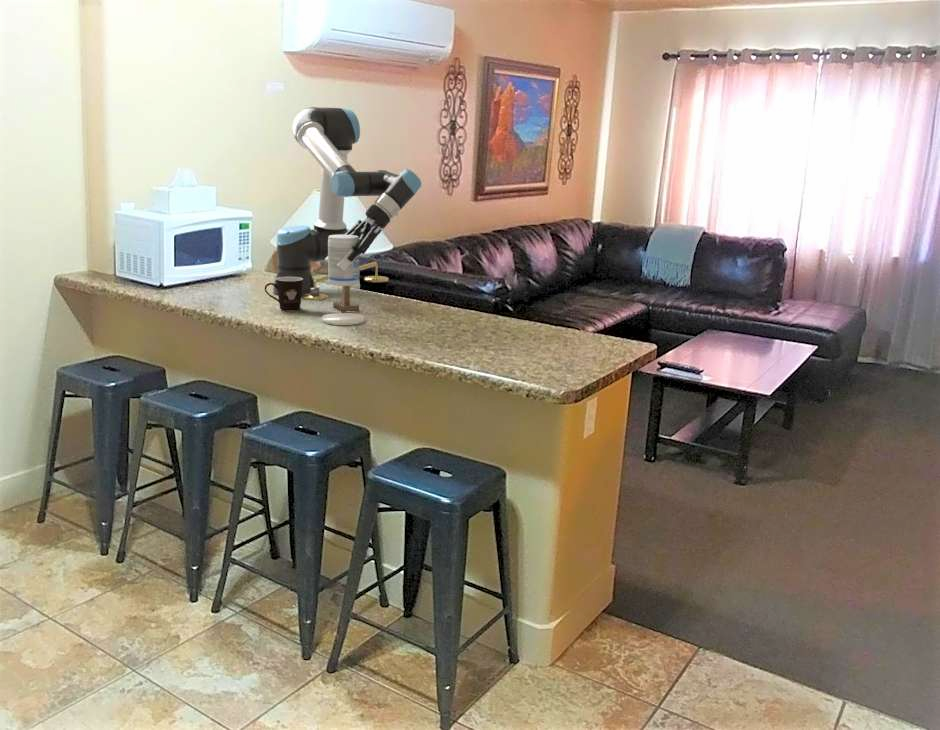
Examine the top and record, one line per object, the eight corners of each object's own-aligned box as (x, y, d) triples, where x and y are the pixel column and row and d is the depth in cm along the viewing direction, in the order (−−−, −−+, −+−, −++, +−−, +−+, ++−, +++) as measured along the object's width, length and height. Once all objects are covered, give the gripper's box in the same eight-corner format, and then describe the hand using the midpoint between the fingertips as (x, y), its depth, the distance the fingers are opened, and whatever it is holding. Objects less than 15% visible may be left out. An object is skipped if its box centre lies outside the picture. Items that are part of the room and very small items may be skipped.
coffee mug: (306, 307, 297) (306, 277, 294) (299, 312, 288) (298, 281, 286) (272, 305, 298) (271, 275, 295) (264, 310, 289) (263, 279, 287)
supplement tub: (361, 286, 272) (361, 238, 268) (329, 286, 270) (329, 238, 266) (357, 280, 281) (357, 234, 277) (327, 281, 279) (326, 233, 275)
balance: (299, 310, 291) (298, 263, 287) (382, 304, 306) (382, 259, 302) (307, 315, 285) (306, 267, 281) (392, 308, 299) (392, 263, 295)
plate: (315, 318, 280) (315, 314, 280) (354, 315, 287) (354, 311, 286) (330, 327, 269) (330, 323, 269) (370, 323, 276) (370, 320, 275)
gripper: (405, 224, 268) (356, 279, 265) (375, 216, 287) (329, 267, 283) (389, 206, 264) (339, 262, 261) (360, 199, 283) (313, 251, 279)
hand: (334, 265), depth 272 cm, fingers closed on supplement tub, 10 cm apart
